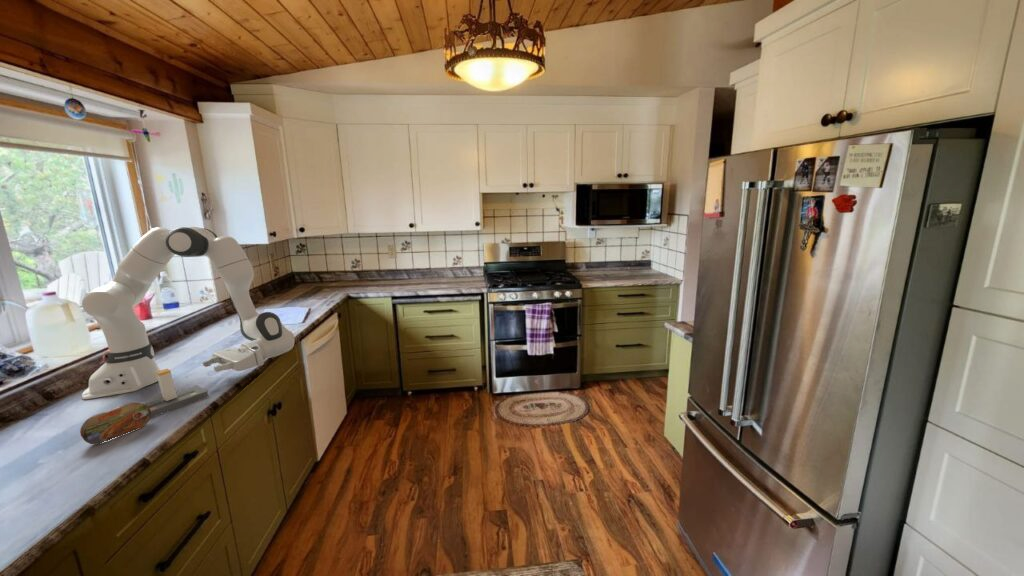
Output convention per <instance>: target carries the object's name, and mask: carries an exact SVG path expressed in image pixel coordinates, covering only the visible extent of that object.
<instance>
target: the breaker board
mask: <svg viewBox="0 0 1024 576" xmlns="http://www.w3.org/2000/svg"><path fill="white" fill-rule="evenodd" d="M176 394H177V398H174V399H171V400H168V401H165V400H164V399H163V397H159V398H157V399H153V400H150V401H148V402H145V403H144V404H145V405H146V406H148V407H149V409H150V411H151V417H152V418H154V416H155V417H157V416H160V415H162V414H161V413H163V414H165V413H167V411H168V412H170V411H173V410H175V408H176V409H178V408H180V406H181V407H184V406H186V405H188V404H191V402H192V403H193V402H194V403H195V402H197V401H199V399H200V400H202V399H204V398H208V397H209V392H208V390H206V389H204V387H203V388H202V387H201V386H199V385H197V384H196V385H193V386H191V387H187V388H184V389H181V390H179V391H176ZM207 396H208V397H207ZM183 405H184V406H183ZM164 412H165V413H164ZM159 414H160V415H159ZM156 415H157V416H156ZM151 417H150V419H151Z"/></svg>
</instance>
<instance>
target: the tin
mask: <svg viewBox="0 0 1024 576" xmlns="http://www.w3.org/2000/svg"><path fill="white" fill-rule="evenodd" d="M150 417H151V411H150V409H149V407H148V406H146V405H145V403H141V402H136V401H135V402H134V401H133V402H127V403H124V404H123V405H119V406H116V407H114V408H111V409H108V410H106V411H103V412H99V413H97V414H94V415H92V416H90V417H89V418H87V420H85V421H84V422H83V423H82V425H81V427H80V430H79V431H80V436H81V438H82V439H83V441H84V442H86V443H88V444H91V445H101V444H100V443H102V442H104V441H108V440H110V439H112V438H115V437H118V436H121V435H123V434H126V433H128V432H131V431H133V430H136V429H138V428H140V429H142V428H143V427H145V426H146V425H147V423H148V422H149V421H150V419H151V418H150ZM141 427H142V428H141ZM138 430H139V429H138ZM136 431H137V430H136ZM131 433H132V432H131ZM126 435H127V434H126ZM121 437H122V436H121Z"/></svg>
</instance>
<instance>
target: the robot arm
mask: <svg viewBox="0 0 1024 576" xmlns="http://www.w3.org/2000/svg"><path fill="white" fill-rule="evenodd" d="M175 255H176V256H179V257H184V258H190V257H191V258H197V257H202V256H204V257H207V258H209V260H210V261H211V262H212V263H213V265H214V267H215V269H216V271H217V273H218V274H219V277H220V279H221V280H222V282H223V284H224V286H225V289H226V290H227V293H228V295H229V297H230V301H231V302H232V304H233V307H234V309H235V312H236V314H237V316H238V318H239V324H240V326H239V327H240V329H239V330H240V333H241V335H242V337H244V338H245V339H247V340H248V341H246V342H243V343H242V344H240V347H239V348H237V347H228V348H225V349H221V350H218V351H214V352H212V355H211V356H212V357H210V358H209V359H207V360H205V361H203V362H202V366H203V367H205V368H208V367H210V366H211V365H213V364H218V365H215V366H213V369H214V371H215V372H216V373H218V372H222V371H228V370H229V371H230V370H231V369H232V370H234V371H236V372H241V371H245V370H249V369H252V368H255V367H261V366H264V363H265V362H264V361H266V360H267V359H269V358H275V357H278V356H280V355H283V354H285V353H288V352H289V351H290V350H292V349H293V347H294V345H295V344H296V343H295V342H296V341H295V339H296V338H295V335H294V334H293V332H292V331H291V330H289V329H288V328H286V327H285V326H284V324H283V323H282V322H281V319H280V317H279V316H278V314H275V312H274V313H273V312H272V311H271V312H270V311H265V312H261V313H258V312H257V309H256V307H255V305H254V303H253V300H252V298H251V295H250V287H251V285H252V282H253V280H254V278H255V270H254V268H253V265H252V263H251V261H250V259H249V257H248V255H247V254H246V252H245V250H244V249H243V248H242V246H241V245H240V244H239V242H238V241H237V240H236V239H235V238H234V237H232V236H227V235H224V236H223V235H222V236H218V235H217V233H215V232H213V231H212V230H210V229H208V228H206V227H205V228H203V227H198V226H197V227H196V226H190V227H186V226H185V227H184V226H183V227H182V226H181V227H177V228H174V229H168V228H166V227H153V228H151V229H149V230H148V231H147V232H146V233H145V234H144V235H143V236H142V237H140V238H139V239H138V240H137V241H136V242H135V244H134V245H133V246H132V247H131V248H130V249H129V251H128V252H127V253H126V254H125V256H124V257H123V258H122V260H120V261H119V263H118V264H117V269H116V271H115V273H114V275H113V277H112V278H111V279H110V280H109V281H108V282H107V283H104V285H101V286H98V287H95V288H93V289H91V290H90V291H88V293H87V294H86V295H85V296H84V297H83V299H82V301H81V307H82V309H83V311H84V312H85V313H86V314H87V315H89V316H91V317H93V318H94V320H95V321H96V323H97V324H98V325H99V327H100V329H101V331H102V333H103V335H104V339H105V341H106V343H107V344H106V345H107V347H108V349H107V350H106V351H105V352H104V354H103V355H102V361H104V364H102V365H101V366H100V367H99V368H98V369H96V371H94V373H92V374H91V375H90V377H89V379H88V387H87V388H86V389H85V390H84V391H83V392H82V394H81V398H82V400H91V399H96V398H103V397H108V396H115V395H120V394H121V395H122V394H127V393H132V392H133V393H134V392H136V391H139V390H141V389H143V388H145V387H146V386H150V385H152V384H154V383H157V382H158V379H157V375H156V372H157V371H160V370H161V369H160V367H159V365H158V363H157V362H156V360H155V351H154V347H153V346H152V343H151V342H150V340H149V336H148V333H147V330H146V325H145V324H144V323H143V322H142V320H140V319H139V317H138V315H136V313H135V312H134V308H135V306H136V307H137V306H138V305H140V303H141V302H142V300H143V299H144V297H145V296H146V294H147V292H148V291H149V289H150V288H151V286H152V284H153V283H154V281H155V279H156V278H157V277H158V276H159V275H160V273H161V272H162V271H163V269H164V268H166V266H167V265H168V263H169V262H170V261H171V260H172V258H173V257H174V256H175Z"/></svg>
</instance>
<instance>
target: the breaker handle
mask: <svg viewBox="0 0 1024 576" xmlns="http://www.w3.org/2000/svg"><path fill="white" fill-rule="evenodd" d="M156 375H157V379H158V381H157V382H158V385H159V390H160V393H161V396H162V397H163V399H164V400H165V401H168V400H171V399H174V398H177V394H176V392H177V390H176V387H175V383H174V379H173V375H172V371H171V369H169V368H164V369H160V371H157V372H156ZM162 397H161V398H162Z"/></svg>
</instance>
